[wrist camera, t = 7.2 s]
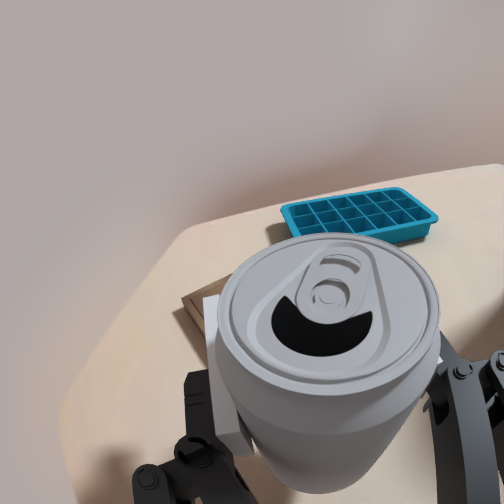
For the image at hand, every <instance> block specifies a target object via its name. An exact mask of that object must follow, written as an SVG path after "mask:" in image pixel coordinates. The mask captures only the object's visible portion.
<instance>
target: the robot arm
mask: <svg viewBox="0 0 504 504" xmlns="http://www.w3.org/2000/svg"><path fill="white" fill-rule="evenodd" d="M219 298H220V295H219V294H218V295H213V296H209V297H205V298H203V310H204V323H205V336H206V348H207V359H208V369H205V370H200V371H195V372H189V373H188V375H187V377H186V380H185V382H184V396H185V398H184V401H185V420H186V435H185V436H184V437H182V438H181V439H179V441H178V442H177V444H176V445H175V449H174V456H175V459H173V460H171V461H169V462H166V463H164V464H161V465H159V466H156V465H154V464H145V465H142V466H140V467H139V468H137V469H136V470H135V472H134V474H133V477H132V486H133V495H134V503H135V504H195V498H198V497H200V498H201V500H202V502H203V504H259V503H258V502H257V500H256V498H255V497H254V495H253V494H252V492H251V491H250V489H249V488H248V486H247V484H246V483H245V481H244V480H243V478H242V476H241V475H240V473H239V471H238V470H237V468H236V467H235V466H234V460H233V456H234V457H235V458H239V457H244V456H250V455H255V454H254V449H253V444H252V439H251V436H250V434H249V432H248V430H247V428H246V426H245V424H244V422H243V420H242V418H241V416H240V414H239V412H238V410H237V409H236V407H235V405H234V403H233V401H232V398H231V396H230V394H229V392H228V390H227V388H226V386H225V384H224V382H223V380H222V378H221V375H220V372H219V369H218V366H217V363H216V357H215V338H216V332H217V328H218V322H217V307H218V301H219ZM440 339H441V348H440V354H439V359H438V363H437V366H436V369H435V371H434V374H433V376H432V378H431V380H430V382H429V384H428V385H427V387H426V389H425V390H424V392H423V394H422V396H421V397H420V398H422V397H423V396H424V394H425V393H426V391H427V392H428V394H429V396H430V397H429V398H428V400H427V401H426V403H425V405H424V407H423V412H426V410H427V409H428V407H429V413H430V420H431V427H432V435H433V443H434V453H435V464H436V478H437V504H500V489H499V478H498V470H499V473H500V475H501V478H502V481H503V484H504V350H498V351H495V352H494V353H493V354H492V356H491V357H490V359H486V360H481V361H476V362H471V361H470V360H468V359H466V358H461V357H459V355H458V354H457V353H456V352H455V350H454V349H453V347H452V346H451V345H450V343H449V342H448V340H447V339H446V338H445V336H444V335H443V334H442V332H441V331H440ZM497 467H498V469H497Z"/></svg>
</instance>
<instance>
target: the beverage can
mask: <svg viewBox="0 0 504 504" xmlns="http://www.w3.org/2000/svg"><path fill="white" fill-rule="evenodd" d="M440 313H441V312H440V301H439V296H438V292H437V289H436V287H435V285H434V282H433V281H432V279H431V277H430V276H429V274H428V273H427V271H426V270H425V269H424V268H423V267H422V266H421V265H420V264H419V263H418V262H417V261H416V260H415V259H414V258H413V257H412V256H410V255H409V254H407V253H406V252H404V251H403V250H401V249H399V248H397V247H396V246H394V245H391V244H389V243H387V242H384V241H382V240H379V239H375V238H372V237H368V236H364V235H358V234H351V233H316V234H309V235H303V236H298V237H294V238H291V239H287V240H284V241H281V242H278V243H276V244H274V245H271V246H269V247H267V248H265V249H263V250H261V251H260V252H258V253H256V254H255V255H253V256H252V257H250V258H249V259H248V260H246V261H245V262H244V263H243V264H242V265H240V266H239V267H238V268H237V269H236V271H235V272H234V273H233V274H232V275H231V276H230V278H229V279H228V281H227V282H226V284H225V286H224V288H223V290H222V292H221V295H220V298H219V301H218V307H217V322H218V328H217V332H216V338H215V357H216V363H217V366H218V369H219V372H220V375H221V378H222V380H223V382H224V384H225V386H226V388H227V390H228V392H229V394H230V396H231V398H232V401H233V403H234V405H235V407H236V409H237V410H238V412H239V414H240V416H241V418H242V420H243V422H244V424H245V426H246V428H247V430H248V432H249V434H250V436H251V437H252V439H253V441H254V443H255V445H256V447H257V449H258V450H259V452H260V454H261V456H262V458H263V459H264V461H265V463H266V465H267V466H268V468H269V470H270V471H271V472H272V473H273V475H274V476H275V477H276V478H277V479H278V480H279V481H280V482H281V483H283V484H284V485H286V486H288V487H290V488H292V489H294V490H297V491H300V492H304V493H310V494H325V493H331V492H335V491H339V490H342V489H344V488H346V487H348V486H350V485H352V484H354V483H355V482H357V481H358V480H359V479H361V478H362V477H363V476H364V475H365V474H366V473H367V472H368V471H369V469H370V468H371V467H372V466H373V465H374V463H375V462H376V461H377V459H378V458H379V457H380V456H381V454H382V453H383V452H384V450H385V449H386V448H387V446H388V445H389V444H390V442H391V441H392V440H393V438H394V437H395V435H396V434H397V433H398V431H399V430H400V428H401V427H402V425H403V424H404V422H405V421H406V419H407V418H408V416H409V415H410V413H411V412H412V410H413V409H414V407H415V405H416V404H417V402H418V401H419V399H420V397H421V396H422V394H423V392H424V390H425V389H426V387H427V385H428V384H429V382H430V380H431V378H432V376H433V374H434V371H435V369H436V366H437V363H438V359H439V354H440V348H441V339H440V329H439V321H440Z"/></svg>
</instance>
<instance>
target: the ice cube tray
mask: <svg viewBox="0 0 504 504" xmlns="http://www.w3.org/2000/svg"><path fill="white" fill-rule="evenodd" d="M280 211H281V213H282V215H283V217H284V219H285V221H286V223H287V225H288V227H289V229H290V232H291V234H292V236H293V238H294V237H298V236H303V235H309V234H316V233H351V234H358V235H364V236H368V237H372V238H375V239H379V240H382V241H384V242H387V243H389V244H393V243H398V242H402V241H407V240H411V239H415V238H420V237H424V236H426V235H428V233H429V229H430V225H431V224H433V223H436V222H437V221H438V215H436V214H435V213H434V212H433V211H431V210H430V209H429V208H428V207H426V206H425V205H424V204H422V203H421V202H420V201H419V200H417V199H416V198H415V197H413V196H412V195H411V194H409V193H408V192H407V191H405V190H404V189H402V188H398V187H391V188H384V189H377V190H370V191H364V192H357V193H351V194H344V195H338V196H332V197H326V198H320V199H314V200H308V201H302V202H296V203H291V204H286V205H284V206H282V207H281V209H280Z"/></svg>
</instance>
